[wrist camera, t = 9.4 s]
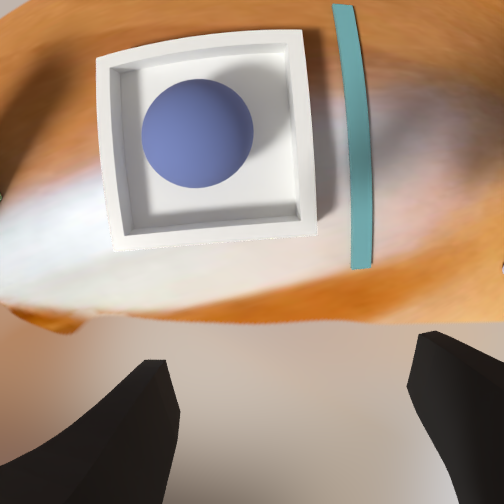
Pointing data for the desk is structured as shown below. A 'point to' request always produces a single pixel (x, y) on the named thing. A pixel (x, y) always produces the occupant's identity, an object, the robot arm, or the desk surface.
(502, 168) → the desk surface
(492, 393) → the robot arm
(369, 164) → the teal line
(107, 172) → the tray
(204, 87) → the ball
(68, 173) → the desk surface
